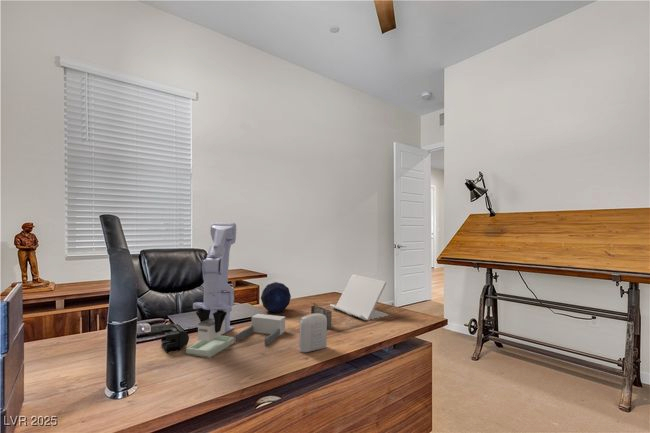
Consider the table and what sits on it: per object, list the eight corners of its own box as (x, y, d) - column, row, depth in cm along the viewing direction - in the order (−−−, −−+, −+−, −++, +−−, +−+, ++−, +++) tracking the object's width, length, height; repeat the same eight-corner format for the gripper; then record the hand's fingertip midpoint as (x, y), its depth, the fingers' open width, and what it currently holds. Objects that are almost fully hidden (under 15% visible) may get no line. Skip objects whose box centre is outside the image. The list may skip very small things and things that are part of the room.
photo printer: (321, 344, 120) (322, 310, 120) (328, 348, 117) (328, 313, 117) (297, 350, 115) (297, 314, 115) (303, 354, 111) (303, 317, 111)
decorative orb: (300, 298, 168) (283, 274, 170) (290, 305, 153) (272, 279, 155) (279, 313, 170) (263, 289, 172) (267, 322, 156) (250, 295, 158)
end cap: (188, 349, 114) (189, 329, 114) (166, 353, 110) (167, 333, 110) (181, 340, 122) (182, 322, 122) (160, 344, 118) (161, 325, 118)
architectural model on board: (310, 323, 146) (310, 301, 146) (315, 322, 148) (315, 300, 148) (325, 330, 137) (326, 307, 137) (331, 329, 139) (331, 306, 139)
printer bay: (236, 341, 122) (236, 325, 122) (257, 328, 137) (257, 313, 137) (266, 345, 118) (266, 329, 118) (285, 331, 134) (285, 316, 134)
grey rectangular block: (196, 340, 111) (196, 323, 111) (214, 331, 120) (214, 316, 120) (208, 341, 110) (208, 325, 110) (224, 332, 119) (225, 317, 119)
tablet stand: (355, 304, 179) (356, 273, 179) (389, 316, 158) (389, 280, 158) (328, 309, 168) (329, 276, 168) (360, 322, 148) (361, 284, 148)
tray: (186, 354, 110) (186, 348, 110) (212, 339, 123) (212, 334, 123) (210, 357, 107) (210, 351, 107) (234, 342, 120) (234, 337, 120)
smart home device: (189, 326, 134) (132, 335, 123) (189, 331, 134) (132, 339, 123) (186, 321, 141) (132, 328, 130) (185, 325, 141) (131, 333, 130)
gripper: (187, 292, 114) (186, 332, 113) (223, 296, 109) (222, 337, 109) (200, 288, 120) (199, 325, 120) (235, 291, 116) (234, 330, 116)
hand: (211, 330), depth 115 cm, fingers closed on grey rectangular block, 4 cm apart
